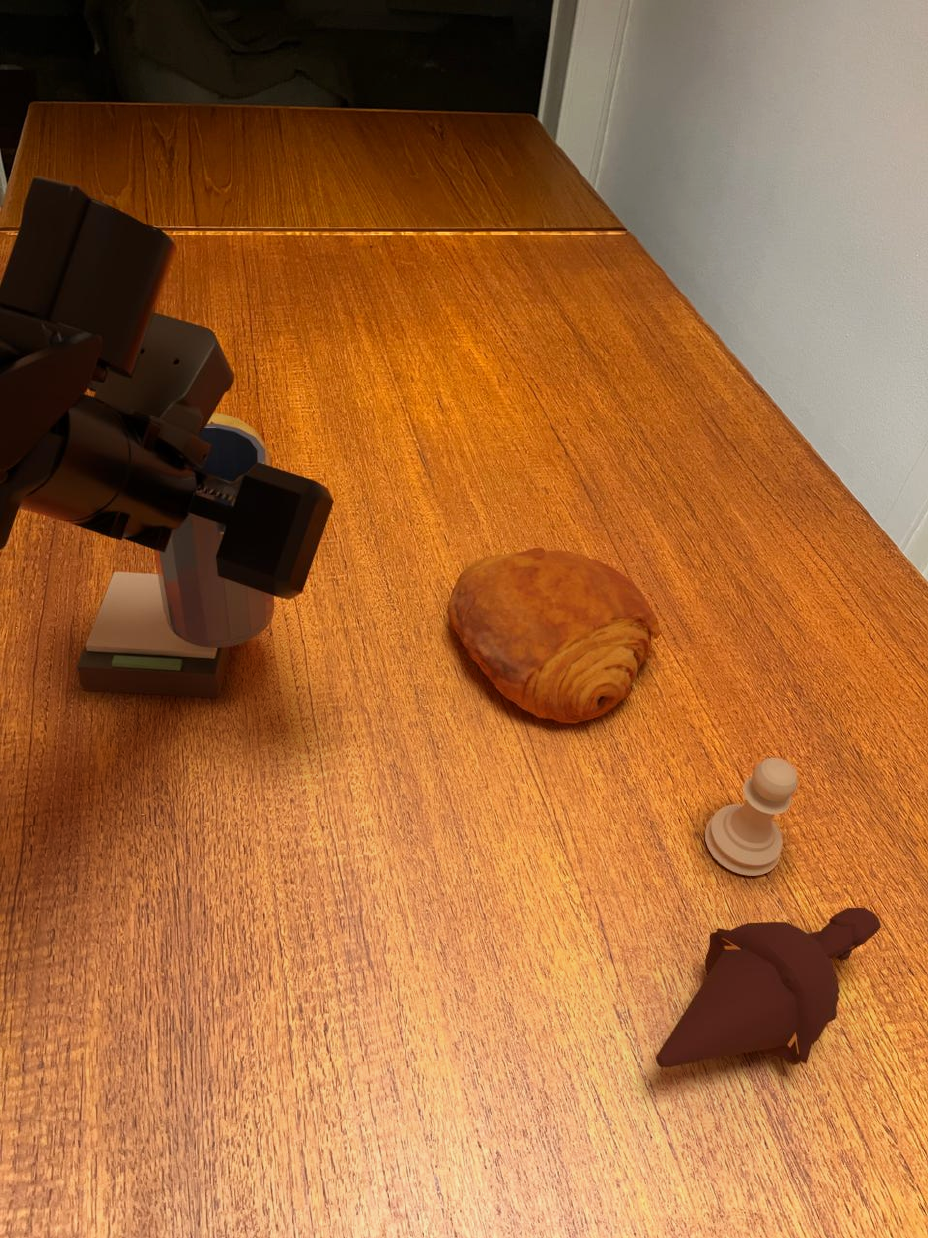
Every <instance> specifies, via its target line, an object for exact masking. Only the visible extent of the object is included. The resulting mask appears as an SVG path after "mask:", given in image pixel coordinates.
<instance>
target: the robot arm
mask: <svg viewBox="0 0 928 1238" xmlns="http://www.w3.org/2000/svg"><path fill="white" fill-rule="evenodd" d="M14 240H15V241H14V243H13V246H12V249H11V251H10V255H9V258H8V261H7V263H6V266H5V269H4V272H3V275H2V277H1V281H0V551H1V550H3V549H4V548H6V546H7V544H8V541H9V538H10V535H11V533H12V529H13V527H14V524H15V521H16V518H17V515H18V512H19V510H24V511H27V512H30V513H34V514H38V515H41V516H44V517H47V518H51V519H55V520H58V521H62V522H66V523H69V524H72V525H74V526H77V527H80V528H82V529H84V530H88V531H91V532H94V533H96V534H100V535H101V536H105V537H108V538H111V539H113V540H114V539H115V540H118V541H122V540H125V541H129V542H131V543H134V544H136V545H140V546H143V547H145V548H148V549H150V550H153V549H154V550H157V551H160V552H164V553H165V551H166V548H167V546H168V543H169V540H170V537H171V534H172V531H173V530H175V529H177V528H179V527H180V526H181V524H182V523H183V522H184V521H185V519H186V518H187V517H188V515H189V513H190V514H193V515H196V516H199V517H202V518H205V519H208V520H211V521H214V522H217V523H220V524H223V526H222V529H221V532H220V533H222V534H224V535H223V538H222V541H221V543H220V546H219V549H218V552H217V555H216V563H217V572H218V576H219V577H222V578H225V579H228V580H230V581H233V582H236V583H239V584H242V585H245V586H247V587H250V588H253V589H256V590H259V591H261V592H264V593H267V594H270V595H273V596H274V597H275V598H280V599H284V600H288V601H290V600H292V599H293V598H296V597H298V596H300V595H301V594H303V592H304V588H305V586H306V583H307V580H308V577H309V574H310V571H311V568H312V565H313V562H314V560H315V557H316V554H317V551H318V548H319V545H320V542H321V540H322V537H323V534H324V531H325V529H326V524H327V522H328V519H329V516H330V514H331V511H332V508H333V505H334V502H335V501H334V499H333V497H332V495H331V493H330V490H329V488H328V487H326V486H324V485H323V484H322V483H320V482H318V481H317V480H314V479H312V478H311V479H310V478H308V477H305V476H301V475H300V474H299V475H298V474H295V473H292V472H290V471H287V470H284V469H280V468H277V467H274V466H273V467H271V466H268V465H265V464H262V463H259V462H257V463H256V464H255V465H254V466H253V467H252V468H251V469H250V470H249V471H248V472H247V473H246V474H243V475H241V476H239V477H238V478H237V479H236V480H235V481H229V480H225V479H222V478H219V477H216V476H213V475H210V474H207V473H204V472H201V471H198V470H195V469H194V468H195V466H196V467H199V468H203V467H204V465H205V462H206V459H207V456H208V453H209V451H210V448H211V445H210V444H208V443H206V442H205V441H203V440H201V439H199V438H197V437H198V434H199V432H201V431H202V430H203V429H204V428H205V426H206V425H207V423H208V421H209V420H210V418H211V416H212V414H213V413H215V411H216V410H217V407H219V404H220V402H221V401H222V399H223V397H224V396H225V394H226V393H228V392H229V391H230V390H231V388H232V386H233V384H234V382H235V375H234V371H233V370H232V367H231V365H230V364H229V363H230V362H228V359H227V357H226V354H225V353H224V350H223V348H222V346H221V344H220V342H219V339H218V337H217V336H216V333H215V332H214V331H213V330H212V329H210V328H208V327H206V326H202V325H199V324H197V323H193V322H189V321H186V320H183V319H179V318H175V317H172V316H169V315H165V314H162V313H159V312H156V309H157V306H158V304H159V300H160V299H161V295H162V292H163V289H164V287H165V283H166V281H167V278H168V274H169V272H170V268H171V266H172V264H173V260H174V257H175V254H176V252H177V246H176V243H175V242H174V240H173V239H172V238H171V237H170V236H169V235H168V234H167V233H166V232H165V231H163V230H162V229H160V228H158V227H157V226H154V225H150V224H147V223H144V222H143V221H141V220H138V219H137V218H135V217H133V216H131V215H130V214H128V213H126V212H124V211H122V210H120V209H117V208H115V207H113V206H111V205H108V204H106V203H104V202H102V201H100V200H97V199H94V198H92V197H90V196H89V195H88V194H87V193H86V192H85V191H84V190H83V189H81V187H79V186H78V185H75V184H73V183H67V182H65V181H61V180H57V179H53V178H50V177H45V176H41V175H36V176H34V177H32V179H31V183H30V184H29V188H28V191H27V194H26V197H25V200H24V203H23V207H22V214H21V221H20V225H19V228H18V232H17V235H16V236H15V239H14ZM87 391H91V392H94V394H93V396H92V395H89V394H86V392H87ZM201 489H202V492H203V493H207V492H208V494H209V495H212V496H213V494H214V493H215V497H218V498H219V497H220V496H221V499H224V500H226V499H227V498H228V501H230V502H231V503H230V506H229V505H226V504H223V503H220V502H217V501H214V500H211V499H208V498H205V497H202V496H199V495H196V491H200V490H201ZM235 498H236V500H235ZM122 542H123V541H122ZM154 550H153V551H154Z"/></svg>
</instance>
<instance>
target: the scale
mask: <svg viewBox="0 0 928 1238" xmlns="http://www.w3.org/2000/svg"><path fill="white" fill-rule="evenodd" d="M231 648H232V646H230V647H222V648H209V647H202V646H197V645H194V644H191V643H188V642H186V641H184V640H182V639H181V638H179V637H178V636H177V635H176V634H175V633H174V632H173V631H172V630H171V629H170V627H169V625H168V623H167V620H166V615H165V614H164V609H163V603H162V597H161V591H160V585H159V579H158V573H145V572H131V571H114V572H113V574H112V576H111V578H110V581H109V582H108V586H107V588H106V591H105V593H104V596H103V598H102V601H101V603H100V606H99V609H98V611H97V613H96V616H95V618H94V621H93V624H92V626H91V629H90V631H89V634H88V636H87V639H86V641H85V644H84V647H83V650H82V652H81V655H80V656H79V660H78V663H77V665H76V670H77V673H78V676H79V680H80V684H81V688H82V691H85V692H87V691H88V692H102V693H104V692H105V693H122V694H136V695H139V694H140V695H155V696H171V697H189V698H190V697H192V698H207V699H220V698H219V697H220V694H221V691H222V686H223V682H224V677H225V674H226V669H227V665H228V661H229V657H230V652H231Z"/></svg>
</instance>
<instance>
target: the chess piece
mask: <svg viewBox="0 0 928 1238" xmlns="http://www.w3.org/2000/svg"><path fill="white" fill-rule="evenodd" d="M798 784H799V778H798V774H797V771H796V769H795V768H794V766H793V765H792V764H791V763H790V762H789V761H787V760H785V759H784V758H781V757H768V758H765V759H763V760H761V761H759V762H758V763H757V764H756V765H755V767H754V769H753V771H752V775H751V776H750V777H748V778H747V779H746V780H745V781H744V783H743V787H742V788H743V790H742V791H743V795H744V797H745V801H744V803H743V804H742V803H733V804H728V805H725V806H723V807H721V808H720V809H718V810H717V811H716V812H715V813H714V815H713V816H712V818H710V819H709V820H708V822H707V824H706V826H705V830H704V840H705V845H706V846H707V849H708V852H710V854H711V855H712V858H714V859H715V860H716V861H717V862H718V863H719V864H720V865H721V866H723V867H724V868H725V869H727V870H729V871H730V872H733V873H735V874H738V875H743V876H747V877H748V876H749V877H751V876H752V877H754V876H762V875H764V874H768V873H769V872H771V871H772V870H774V869H775V868H776V866H777V865H778V864H779V861H780V858H781V853H782V850H783V847H784V845H783V844H784V841H783V836H782V832H781V830H780V828H779V825H778V824H777V823H776V822H775V821H774V820H773V819H774V818H775V817H776V815H781V814H783V813H786V812H787V811H788V810H789V809H790V807H791V805H792V796H793V795H794V794H795V792H796V790H797V789H798Z"/></svg>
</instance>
